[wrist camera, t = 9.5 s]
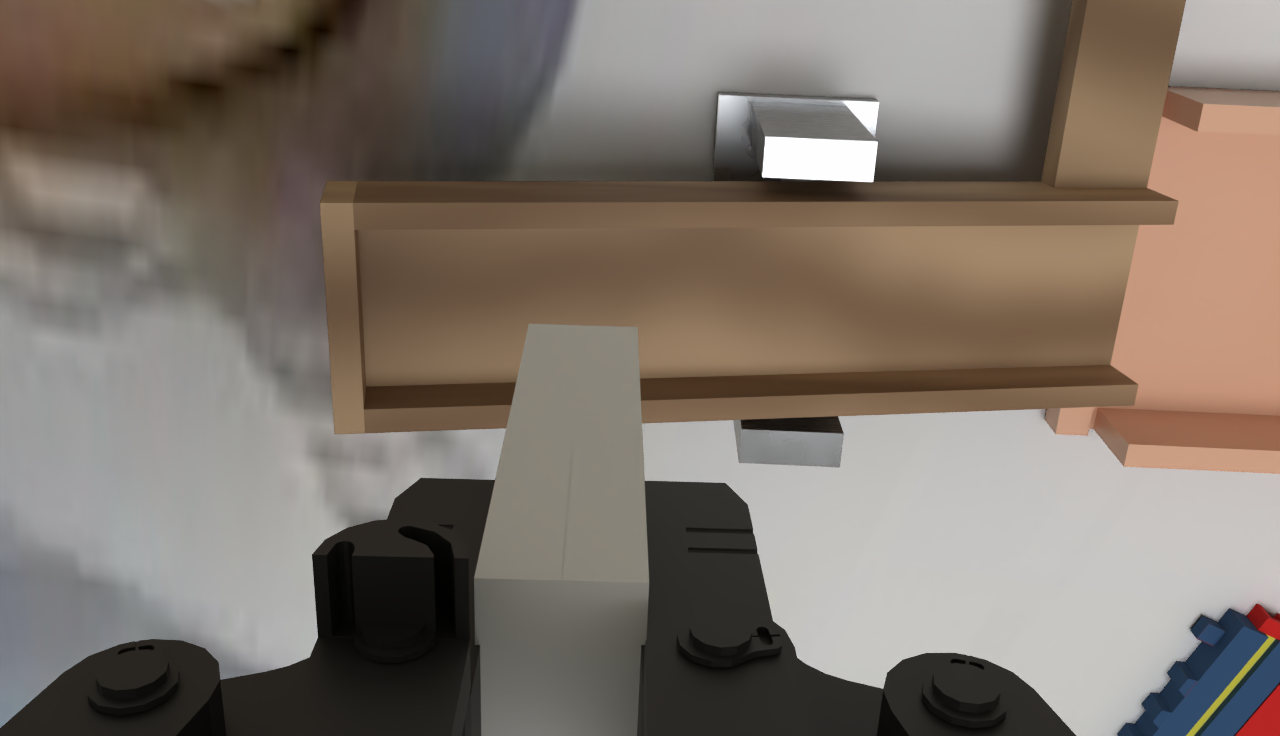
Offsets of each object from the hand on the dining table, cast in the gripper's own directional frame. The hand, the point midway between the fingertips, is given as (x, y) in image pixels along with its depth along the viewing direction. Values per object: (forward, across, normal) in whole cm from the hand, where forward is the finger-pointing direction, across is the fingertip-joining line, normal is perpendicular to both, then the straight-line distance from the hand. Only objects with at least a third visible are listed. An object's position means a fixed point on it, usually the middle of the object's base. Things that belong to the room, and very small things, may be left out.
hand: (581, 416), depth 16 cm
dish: (+22, -22, +4) cm, 31 cm away
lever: (+19, -4, 0) cm, 19 cm away
